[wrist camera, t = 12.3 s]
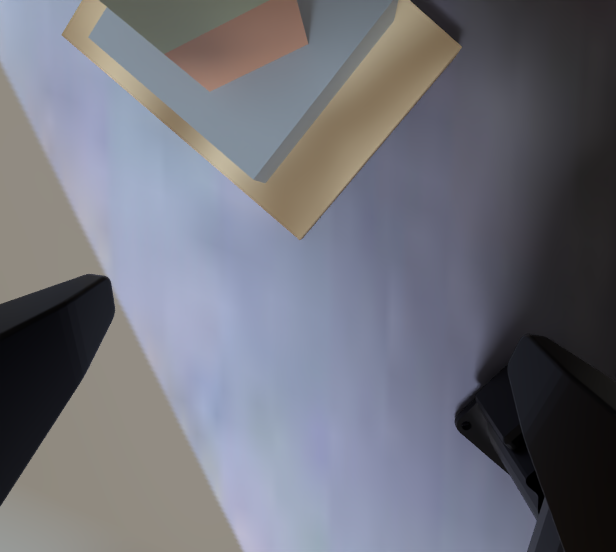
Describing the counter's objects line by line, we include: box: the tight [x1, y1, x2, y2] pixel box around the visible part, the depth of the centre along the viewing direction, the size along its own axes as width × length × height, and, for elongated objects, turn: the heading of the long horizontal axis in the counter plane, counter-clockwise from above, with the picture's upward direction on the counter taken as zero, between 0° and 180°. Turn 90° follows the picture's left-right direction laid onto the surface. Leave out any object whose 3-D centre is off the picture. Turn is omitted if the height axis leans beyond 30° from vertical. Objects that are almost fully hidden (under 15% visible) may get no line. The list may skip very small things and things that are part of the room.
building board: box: [62, 0, 462, 240], centre depth 19 cm, size 15×11×1 cm
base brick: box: [88, 0, 398, 183], centre depth 17 cm, size 9×9×2 cm
